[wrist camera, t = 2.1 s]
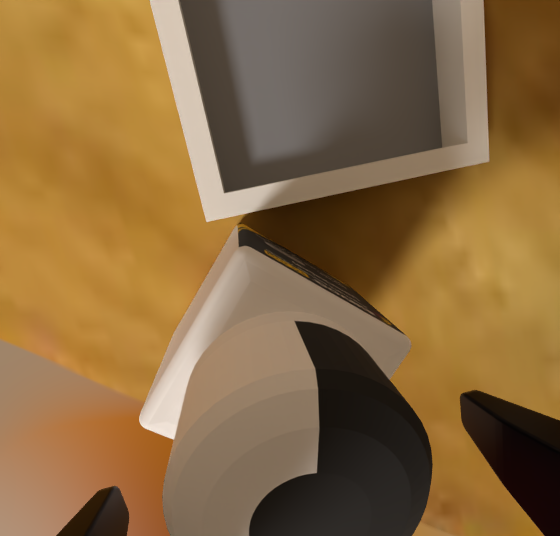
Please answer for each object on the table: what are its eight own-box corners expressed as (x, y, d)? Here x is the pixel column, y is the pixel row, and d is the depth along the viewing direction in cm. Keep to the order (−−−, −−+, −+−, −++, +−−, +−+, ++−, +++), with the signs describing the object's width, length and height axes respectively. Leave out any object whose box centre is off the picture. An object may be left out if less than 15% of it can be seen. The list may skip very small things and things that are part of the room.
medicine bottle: (351, 286, 19) (542, 450, 7) (284, 389, 20) (356, 682, 8) (238, 220, 17) (245, 292, 5) (171, 336, 18) (56, 607, 6)
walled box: (435, -148, 14) (476, -215, 12) (454, 164, 18) (489, 161, 15) (129, -106, 13) (106, -170, 11) (210, 216, 17) (206, 222, 14)
